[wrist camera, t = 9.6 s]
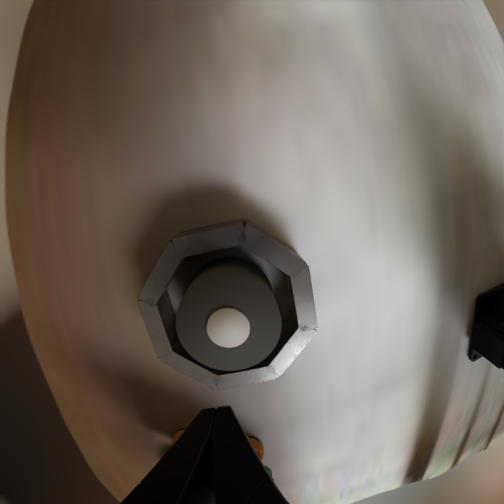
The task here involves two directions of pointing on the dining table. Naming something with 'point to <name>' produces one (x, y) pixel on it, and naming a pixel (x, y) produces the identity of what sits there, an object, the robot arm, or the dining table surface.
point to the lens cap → (229, 315)
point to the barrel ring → (211, 239)
